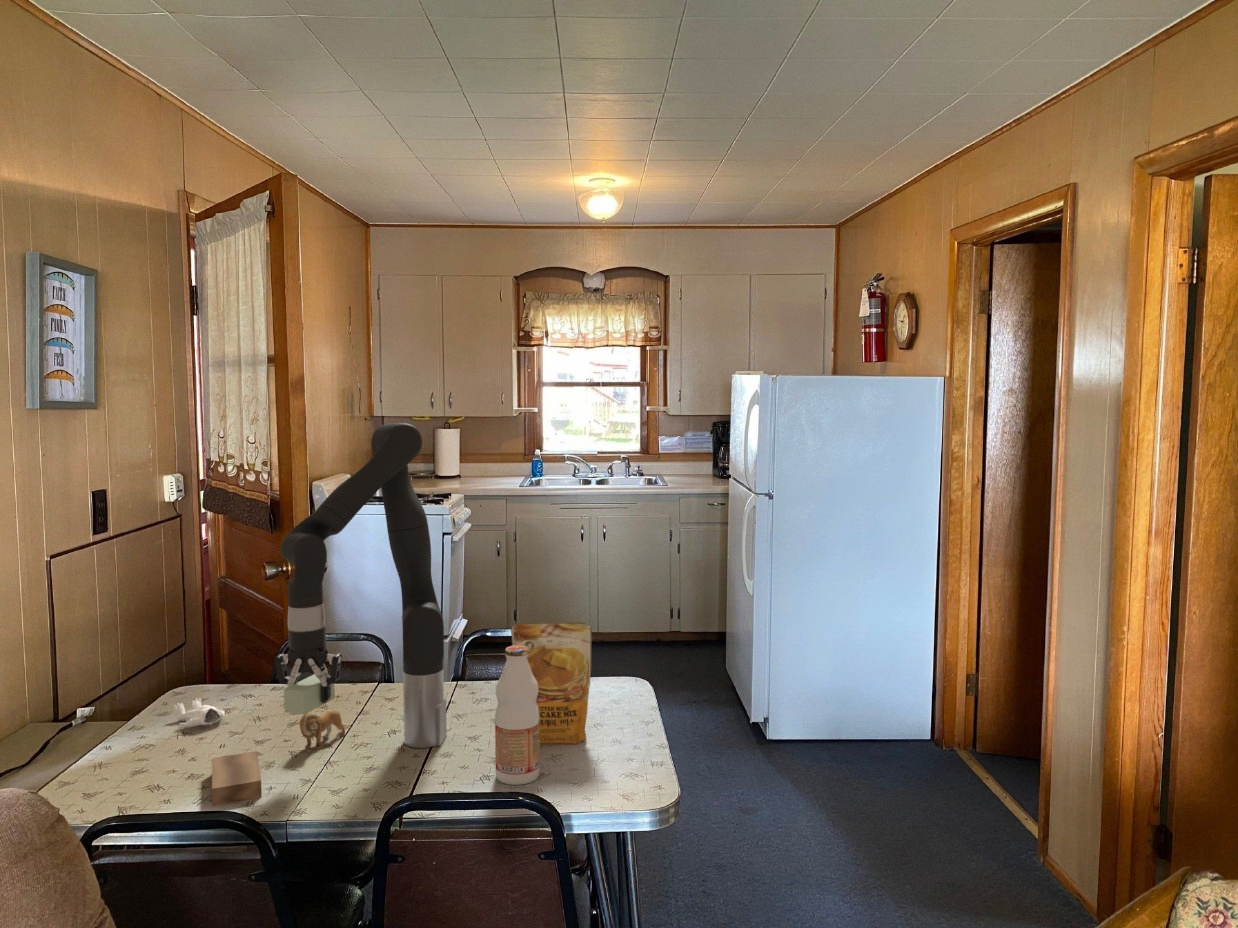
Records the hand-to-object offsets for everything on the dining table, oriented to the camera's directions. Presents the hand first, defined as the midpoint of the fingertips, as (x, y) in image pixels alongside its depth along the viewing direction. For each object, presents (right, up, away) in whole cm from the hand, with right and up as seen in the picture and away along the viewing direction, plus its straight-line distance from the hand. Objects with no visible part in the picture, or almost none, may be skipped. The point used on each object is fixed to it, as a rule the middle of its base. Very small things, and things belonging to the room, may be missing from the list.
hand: (310, 701), depth 185 cm
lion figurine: (-3, -15, +17) cm, 23 cm away
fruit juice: (+45, -16, 0) cm, 47 cm away
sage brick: (0, -1, 0) cm, 1 cm away
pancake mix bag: (+50, -15, +19) cm, 56 cm away
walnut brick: (-14, -17, -5) cm, 22 cm away
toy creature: (-38, -14, +30) cm, 50 cm away
